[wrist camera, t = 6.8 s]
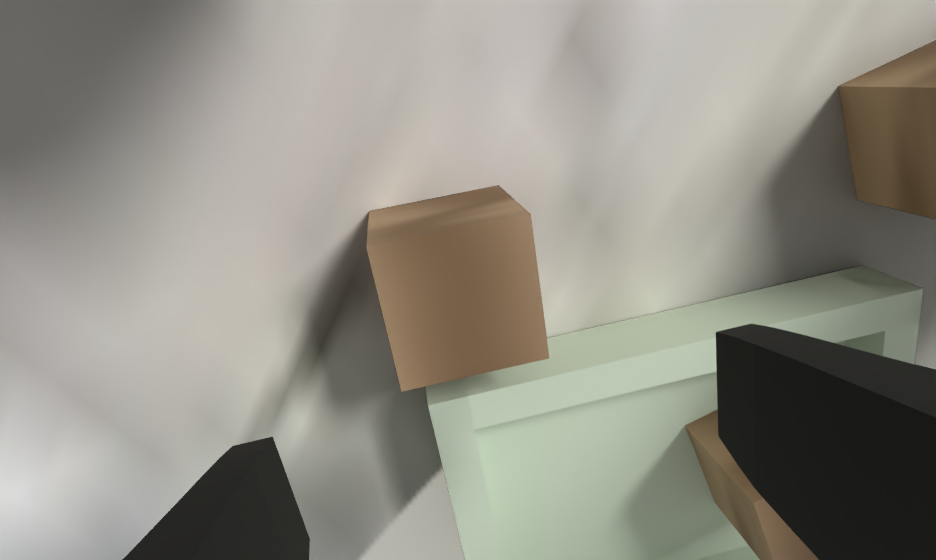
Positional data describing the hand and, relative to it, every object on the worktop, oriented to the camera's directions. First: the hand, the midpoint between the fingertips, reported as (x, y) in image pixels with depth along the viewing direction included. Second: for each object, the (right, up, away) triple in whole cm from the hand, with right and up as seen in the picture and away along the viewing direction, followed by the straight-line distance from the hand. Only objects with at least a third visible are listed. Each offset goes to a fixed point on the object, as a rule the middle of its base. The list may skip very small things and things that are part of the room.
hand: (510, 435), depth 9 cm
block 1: (-1, +3, +9) cm, 10 cm away
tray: (+7, -4, +13) cm, 15 cm away
